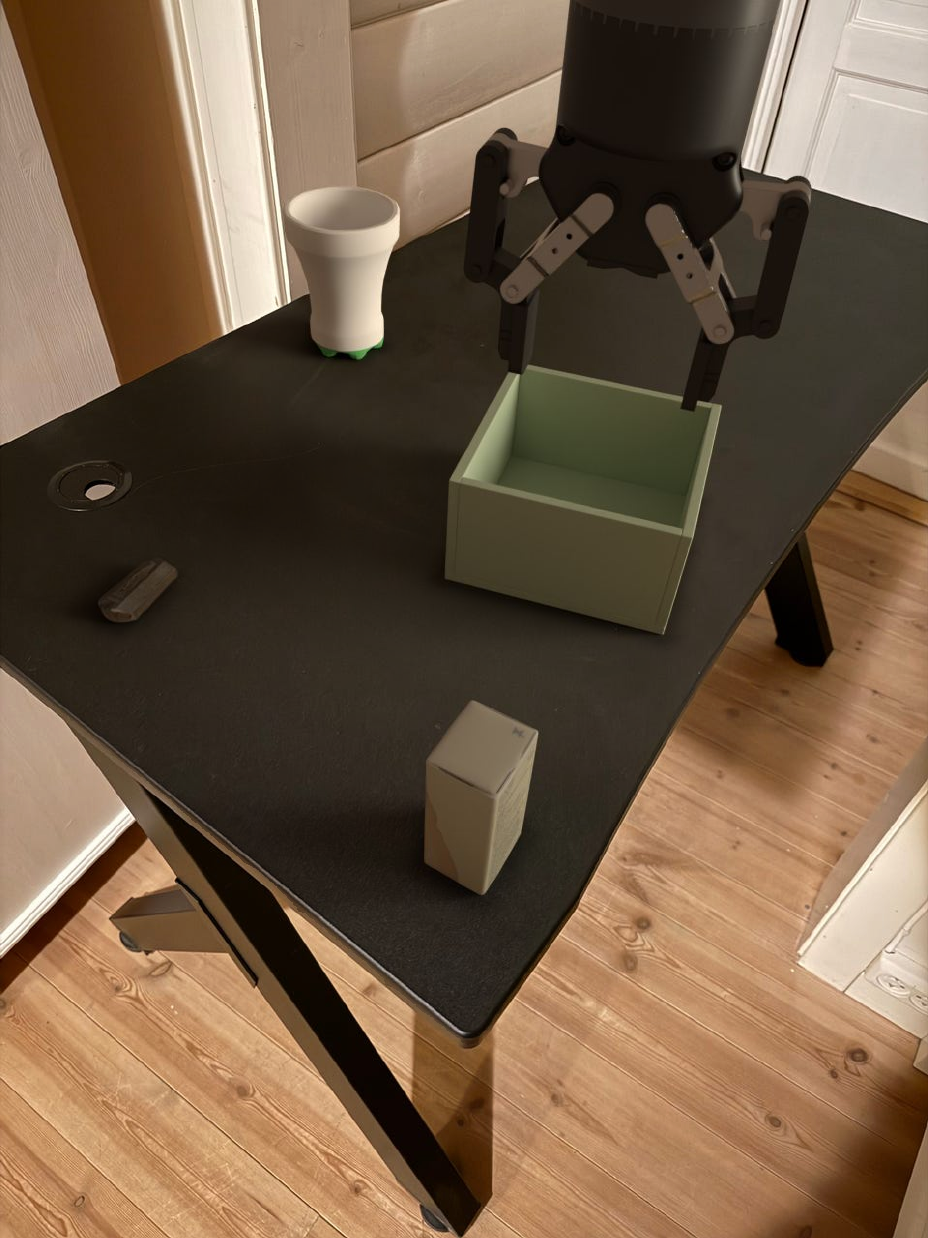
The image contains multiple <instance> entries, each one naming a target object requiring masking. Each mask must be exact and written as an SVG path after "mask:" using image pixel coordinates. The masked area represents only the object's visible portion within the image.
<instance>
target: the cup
mask: <svg viewBox="0 0 928 1238" xmlns="http://www.w3.org/2000/svg"><path fill="white" fill-rule="evenodd" d="M282 216H283V227H284V233H285V237H286V239H287V242H288V243H289V244H290V246H291V247H292V248H293V250H294V252H295V254H296V256H297V259H298V261H299V264H300V266H301V269H302V272H303V274H304V277H305V280H306V283H307V288H308V292H309V300H310V305H311V306H310V307H311V314H310V320H309V324H310V335H311V339H312V340H313V341H314V342H315V344H316V345H317V347H318V348H319V350H320V351H321V353H322V355H323V356H326V357H333V356H336V355H337V354H338V353H342V354H347V355H348V356H349V357H350V358H351V359H354V360H357V361H359V360H361V359H363V358H364V357H365V356H366V355H367V352H369V351H370V350H371V349H379V348H381V347H382V346H383V342H384V335H385V333H384V331H385V330H384V329H385V327H384V325H385V324H384V322H385V321H384V316H383V313H382V293H383V292H382V291H383V284H384V278H385V275H386V271H387V266H388V263H389V260H390V257H391V254H392V251H393V248H394V246H395V245H396V244H397V242H398V240H399V238H400V226H401V225H400V218H401V208H400V206H399V204H398V202H397V201H396V200H394V199H393V198H391V197H390V196H389V195H386V194H385V193H382V192H380V191H377V190H374V189H370V188H367V187H361V186H356V185H327V186H325V185H324V186H320V187H315V188H309V189H306V190H302V191H298V192H297V193H295V194H294V195H293V196H291V197H289V199H288V200H287V201H286V202H285V203H284V204H283V207H282Z"/></svg>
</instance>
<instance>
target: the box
mask: <svg viewBox="0 0 928 1238" xmlns="http://www.w3.org/2000/svg"><path fill="white" fill-rule="evenodd" d="M538 738H539V731H538V730H537V729H535V728H532V727H531V726H529V725H527V724H525V723H523V722H521V721H519V720H517V719H515V718H512V717H511V716H508V715H506V714H504V713H502V712H499V711H498V710H495V709H494V708H492V707H489V706H487V705H485V704H482V703H480V702H479V701H476V700H473V699H472V700H470V701H469V702H468V703H467V705H466V706H465V707H464V709H462V711H461V712H460V714H458V716H457V717H456V719H455V720H454V721H453V723H451V725H450V727H449V728H448V729H447V731H446V732H445V734H444V735H442V737H441V739H440V741H439V742H438V743H437V744H436V746H435V747H434V749H433V750H432V752H431V753H430V755H429V756H428V757H427V759H426V760H425V799H424V801H425V803H424V804H425V805H424V807H425V808H424V809H425V810H424V849H423V850H424V853H423V861H424V863H425V864H426V865H428V866H429V867H431V868H432V869H434V870H436V871H438V872H439V873H441V874H442V875H444V876H445V877H448V878H449V879H450V880H453V881H454V882H456V883H458V884H459V885H461V886H463V887H465V888H467V889H469V890H471V891H472V892H474V893H476V894H478V895H480V896H483V895H485V894H486V893H487V891H488V890H489V888H490V887H491V885H492V884H493V882H494V881H495V879H496V878H497V876H498V874H499V872H500V871H501V869H502V868H503V866H504V864H505V862H506V861H507V859H508V857H509V855H510V854H511V852H512V851H513V849H514V848H515V846H516V843H517V842H518V840H519V838H520V837H521V835H522V829H523V823H524V817H525V812H526V807H527V801H528V795H529V790H530V784H531V778H532V773H533V768H534V767H533V766H534V761H535V755H536V749H537V742H538Z"/></svg>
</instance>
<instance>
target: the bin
mask: <svg viewBox="0 0 928 1238" xmlns="http://www.w3.org/2000/svg"><path fill="white" fill-rule="evenodd" d="M682 400H683V396H680V395H676V394H670V393H666V392H661V391H657V390H656V391H655V390H651V389H646V388H641V387H637V386H632V385H627V384H622V383H618V382H613V381H609V380H605V379H604V380H603V379H598V378H593V377H589V376H584V375H580V374H575V373H569V372H566V371H560V370H555V369H551V368H546V367H541V366H537V365H532V364H528V366H527V367H526V369H525V371H524V373H523V375H520V374H515V373H510V372H508V371H507V374H506V376H505V378H504V380H503V382H502V383H501V385H500V387H499V389H498V390H497V392H496V395H494V398H493V400H492V402H491V403H490V405H489V407H488V408H487V411H486V413H485V414H484V416H483V418H482V420H481V422H479V423H480V424H479V425H478V427H477V429H476V431H475V432H474V435H472V438H471V440H470V441H469V444H468V445H467V447H466V449H465V450H464V452H463V455H462V456H461V458H460V460H459V462H458V463H457V466H456V467H455V469H454V470H453V473H452V475H451V477H450V478H449V480H448V493H447V494H448V495H447V496H448V497H447V517H446V541H445V558H444V559H445V561H444V579H445V580H447V581H448V580H449V581H452V582H456V583H460V584H464V585H468V586H471V587H476V588H479V589H483V590H487V591H491V592H495V593H498V594H503V595H506V596H510V597H514V598H518V599H522V600H526V601H530V602H533V603H537V604H540V605H541V604H542V605H545V606H549V607H553V608H557V609H561V610H565V611H569V612H573V613H576V614H580V615H584V616H588V617H592V618H596V619H600V620H602V621H608V622H611V623H616V624H619V625H622V626H627V627H630V628H634V629H638V630H642V631H647V632H649V633H654V634H658V635H662V636H663V635H664V634H665V631H666V628H667V624H668V621H669V618H670V614H671V613H672V612H671V611H672V608H673V604H674V601H675V598H676V595H677V592H678V588H679V585H680V582H681V579H682V578H681V577H682V575H683V572H684V569H685V565H686V563H687V559H688V556H689V553H690V549H691V546H692V542H693V540H694V537H695V536H694V535H695V531H696V526H697V523H698V522H697V521H698V517H699V512H700V507H701V502H702V499H703V494H704V490H705V485H706V480H707V475H708V471H709V466H710V462H711V457H712V453H713V447H714V443H715V439H716V435H717V430H718V427H719V426H718V425H719V420H720V416H721V411H722V407H723V405H721V404H718V403H712V402H710V401H709V402H708V403H706V402H702V401H697V405H696V408H695V412H692V411H688V410H683V409H680V408H681V404H682Z"/></svg>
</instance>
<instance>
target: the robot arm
mask: <svg viewBox="0 0 928 1238" xmlns="http://www.w3.org/2000/svg"><path fill="white" fill-rule="evenodd" d="M781 1H782V0H569V5H568V14H567V23H566V32H565V40H564V41H565V42H564V50H563V59H562V68H561V76H560V77H561V78H560V84H559V93H558V104H557V112H556V119H555V122H556V123H555V130H554V133H553V137H552V140H551V142H550V144H549V146H548V147H546V146H542V145H538V144H533V143H528V142H525V141H520V140H519V139H518V137H517V134H516V133H515V131H514V130H513V129H511V128H508V127H500V128H498V129H496V130H495V131H494V133H492V135H490V136H489V138H488V139H487V140H486V141H485V143H483V145H482V146H481V147H480V148H479V149H478V151H476V154H475V160H474V167H473V177H472V187H471V197H470V205H469V215H468V223H467V231H466V240H465V241H466V242H465V243H466V244H465V248H464V249H465V251H464V259H463V273H464V277H466V279H467V280H468V281H470V282H471V283H474V284H481V283H484V284H486V285H488V286H490V287H491V288H493V289H494V290H495V291H496V292H497V293H498V295H499V297H500V316H499V328H498V329H499V331H498V341H497V352H498V355H499V358H500V360H504V361H508V365H507V373H508V372H510V373H515V374H520V375H523V373H524V371H525V369H526V367H527V366H528V365H530V361H531V359H532V355H533V351H534V342H535V341H534V340H535V333H536V326H537V325H536V324H537V315H538V307H539V297H540V289H541V288H540V287H539V285H540V284H541V283H542V282H543V281H544V280H545V279H546V278H549V277H550V276H551V275H552V274H553V273H554V272H556V270H557V269H558V268H559V267H560V266H561V265H563V264H564V263H565V262H566V261H567V259H569V258H570V257H571V256H572V255H573V254H574V253H576V254H577V255H578V256H579V257H580V258H582V259H583V260H585V261H587V262H586V266H587V267H590V268H596V269H600V270H601V269H602V270H608V269H609V270H610V269H611V270H612V269H625V270H626V271H628V272H631V273H632V274H635V275H637V276H639V277H644V278H650V279H656V280H658V277H659V275H663V274H667V273H671V274H672V276H673V278H674V280H675V283H676V284H677V287H678V289H679V291H680V292H681V295H682V297H683V299H684V301H685V302H686V303H687V304H688V305H690V306H691V307H692V309H693V311H694V313H695V315H696V317H697V320H698V321H699V323H700V325H701V326H700V327H701V328H700V331H699V334H698V339H697V341H696V345H695V349H694V350H695V351H694V354H693V357H692V361H691V366H690V368H689V373H688V376H687V382H686V385H685V388H684V393H683V396H682V397H683V400H682V404H681V408H680V409H683V410H688V411H692V412H695V408H696V405H697V401H702V402H706V403H708V402H709V403H710V401H712V399H713V398H714V396H716V392H717V389H718V385H719V381H720V378H721V375H722V371H723V368H724V364H725V361H726V357H727V355H728V350H729V348H730V345H732V343H733V342H734V341H736V340H737V339H740V338H742V337H743V338H744V337H750V336H754V337H755V338H757V339H759V340H769V339H772V338H774V337H775V336H776V335H777V334H778V333H779V331H780V329H781V324H782V320H783V317H784V313H785V309H786V305H787V301H788V297H789V292H790V289H791V285H792V281H793V277H794V273H795V270H796V266H797V261H798V258H799V253H800V249H801V245H802V241H803V238H804V235H805V234H804V233H805V229H806V226H807V222H808V218H809V213H810V206H811V198H812V191H813V190H812V189H813V187H812V184H811V181H810V180H809V178H806V177H805V176H803V175H793V176H791V177H789V178H787V179H786V180H785V181H784V182H783V183H781V182H771V181H770V182H768V181H759V180H750V179H749V180H748V179H746V177H745V173H744V172H743V171H744V170H743V164H742V159H743V158H742V157H743V151H744V147H745V143H746V140H747V139H746V138H747V135H748V132H749V126H750V123H751V119H752V116H753V112H754V108H755V103H756V100H757V95H758V93H759V92H758V91H759V88H760V84H761V80H762V76H763V72H764V68H765V64H766V60H767V56H768V52H769V49H770V44H771V41H772V36H773V30H774V27H775V25H776V21H777V17H778V13H779V12H778V11H779V8H780V6H781ZM536 177H537V178H538V181H539V185H540V187H541V189H542V191H543V193H544V195H545V197H546V199H547V201H548V203H549V204H550V206H551V209H552V211H553V212H554V214H555V216H556V218H555V219H554V220H553V221H552V222H551V223H550V224H549V225H548V226H547V227H546V228H545V230H544V231H543V232H542V233H541V235H539V237H538V238H537V239H536V240H535V241H534V242H533V243H532V244H531V245H530V246H529V247H528V248H527V249H526V250H525V251H524V252H523V253H522V254H521V256H517V255H516V254H514V253H513V252H511V251H509V250H508V249H506V248H505V240H506V234H507V228H508V220H509V213H510V205H511V199H514V198H516V197H518V196H519V195H520V194H521V192H522V191H523V190H524V188H525V187H526V186H527V184H528V180H529V179H530V178H531V179H532V178H536ZM739 212H742V213H744V214H746V215H747V216H748V217H749V218H750V220H751V224H752V225H751V227H752V228H751V232H752V235H753V237H754V238H755V240H757V241H758V242H759V243H763V244H768V246H767V249H766V253H765V257H764V261H763V267H762V271H761V276H760V280H759V284H758V288H757V291H756V292H757V293H756V294H752V295H747V296H746V295H745V296H739V297H737V295H736V293H735V291H734V289H733V287H732V284H731V282H730V280H729V277H728V276H727V273H726V271H725V268H724V262H723V258H722V255H721V253H720V251H719V249H718V246H717V244H716V242H715V239H714V238H713V237H714V236H716V234H718V233H719V232H720V231H721V230H722V229H723V228H725V226H727V225H728V224H729V223H730V222H731V221H732V220H733V219H734V218H735V217H736V216H737V214H738V213H739Z"/></svg>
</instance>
